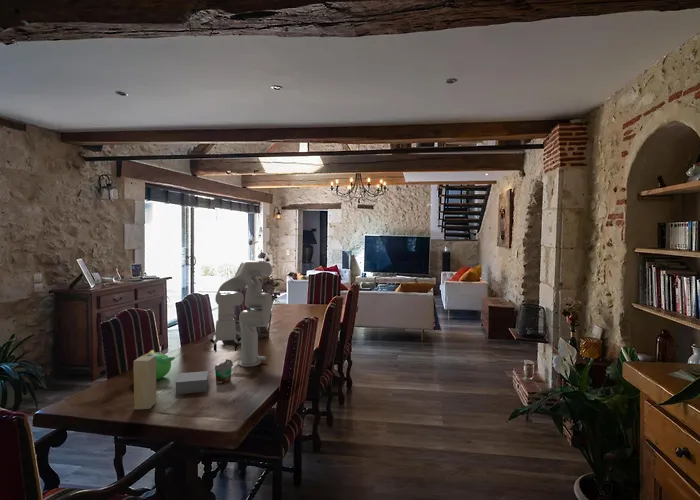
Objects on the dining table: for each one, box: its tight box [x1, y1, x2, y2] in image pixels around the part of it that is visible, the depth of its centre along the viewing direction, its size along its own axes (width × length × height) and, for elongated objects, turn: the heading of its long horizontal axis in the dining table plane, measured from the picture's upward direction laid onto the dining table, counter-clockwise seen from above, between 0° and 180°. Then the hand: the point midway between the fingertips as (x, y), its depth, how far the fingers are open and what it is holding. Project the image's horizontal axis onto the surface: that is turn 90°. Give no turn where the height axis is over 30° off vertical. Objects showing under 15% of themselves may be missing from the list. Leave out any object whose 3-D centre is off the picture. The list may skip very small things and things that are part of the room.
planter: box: [221, 320, 241, 346], centre depth 299 cm, size 14×14×15 cm
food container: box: [214, 358, 234, 386], centre depth 219 cm, size 12×6×10 cm, turn 168°
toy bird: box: [132, 349, 176, 381], centre depth 222 cm, size 18×17×15 cm
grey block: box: [175, 370, 209, 395], centre depth 211 cm, size 14×14×6 cm
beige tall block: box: [133, 355, 157, 410], centre depth 187 cm, size 8×7×21 cm
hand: (225, 351), depth 218 cm, fingers open, 9 cm apart
